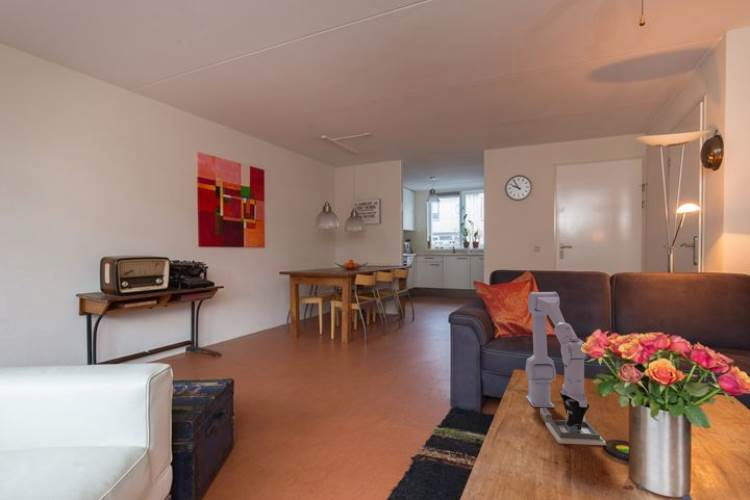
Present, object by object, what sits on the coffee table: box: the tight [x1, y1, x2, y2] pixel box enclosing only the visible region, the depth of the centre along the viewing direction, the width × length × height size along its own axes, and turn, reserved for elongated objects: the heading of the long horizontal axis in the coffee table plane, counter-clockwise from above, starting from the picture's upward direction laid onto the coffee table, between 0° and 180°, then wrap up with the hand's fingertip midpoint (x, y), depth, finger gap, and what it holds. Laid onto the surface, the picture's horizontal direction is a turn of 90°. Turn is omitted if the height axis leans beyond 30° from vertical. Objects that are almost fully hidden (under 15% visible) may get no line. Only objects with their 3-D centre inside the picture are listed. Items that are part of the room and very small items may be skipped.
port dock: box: [545, 419, 607, 446], centre depth 125 cm, size 12×14×2 cm
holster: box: [539, 407, 586, 424], centre depth 135 cm, size 6×13×3 cm, turn 84°
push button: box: [562, 399, 584, 433], centre depth 124 cm, size 7×5×10 cm
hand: (574, 419), depth 125 cm, fingers closed on push button, 5 cm apart
